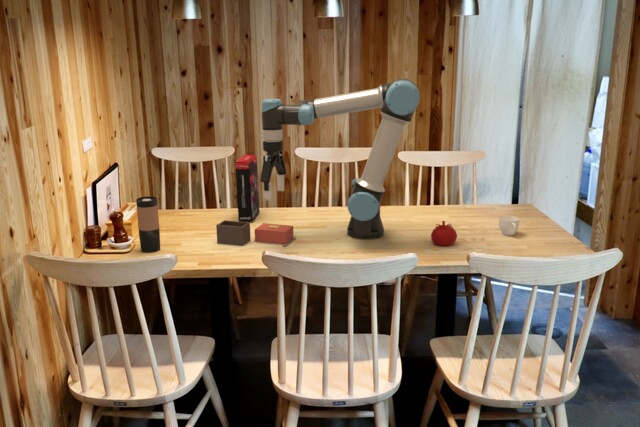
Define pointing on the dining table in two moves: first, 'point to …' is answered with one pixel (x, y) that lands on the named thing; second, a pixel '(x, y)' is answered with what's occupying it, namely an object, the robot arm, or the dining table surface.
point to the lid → (274, 233)
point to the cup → (508, 225)
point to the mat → (279, 244)
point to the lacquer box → (233, 233)
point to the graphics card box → (247, 188)
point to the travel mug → (148, 224)
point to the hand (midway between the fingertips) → (274, 194)
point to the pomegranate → (443, 235)
